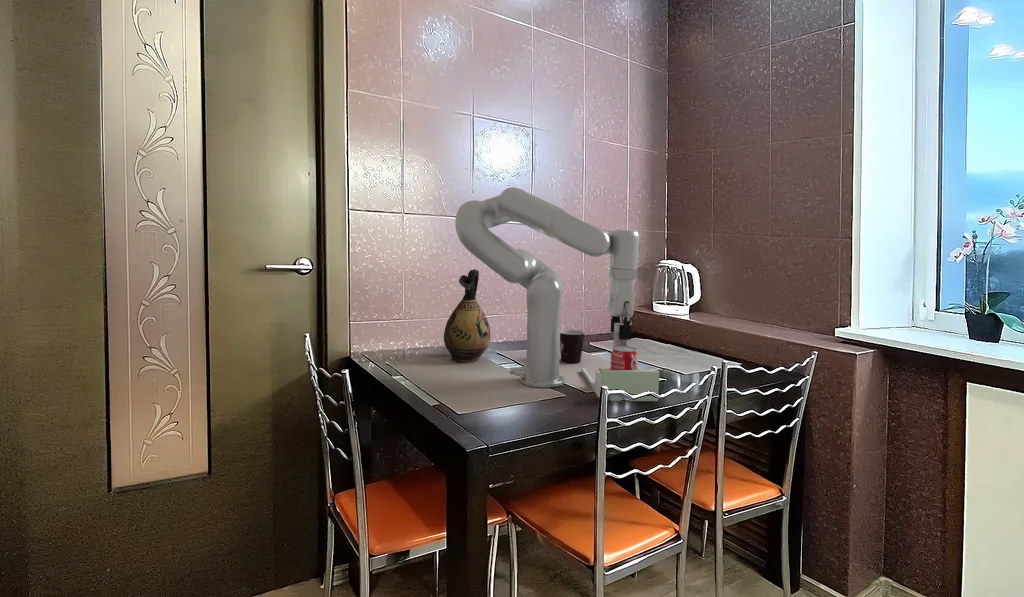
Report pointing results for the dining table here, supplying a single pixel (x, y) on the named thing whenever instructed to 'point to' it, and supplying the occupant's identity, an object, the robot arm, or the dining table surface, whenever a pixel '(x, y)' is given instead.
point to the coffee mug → (571, 346)
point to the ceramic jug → (467, 325)
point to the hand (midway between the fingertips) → (620, 335)
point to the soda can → (624, 358)
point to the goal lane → (626, 382)
